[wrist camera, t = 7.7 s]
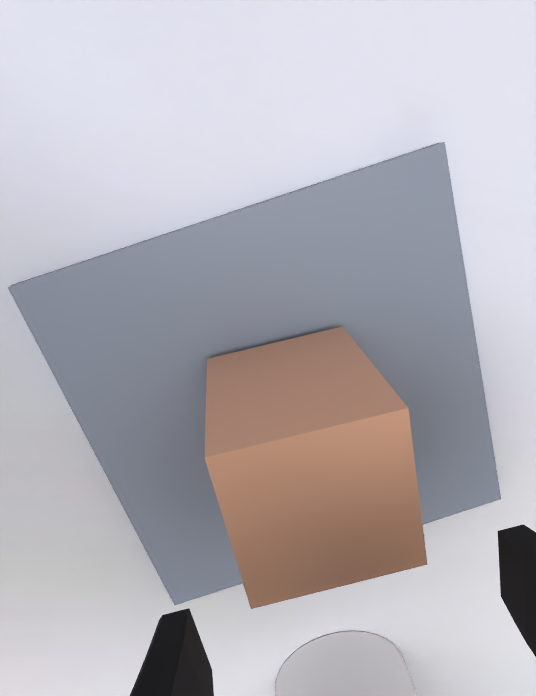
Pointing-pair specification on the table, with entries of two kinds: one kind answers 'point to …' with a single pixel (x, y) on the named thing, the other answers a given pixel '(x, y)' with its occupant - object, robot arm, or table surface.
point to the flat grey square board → (265, 328)
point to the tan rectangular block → (311, 466)
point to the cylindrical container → (346, 668)
